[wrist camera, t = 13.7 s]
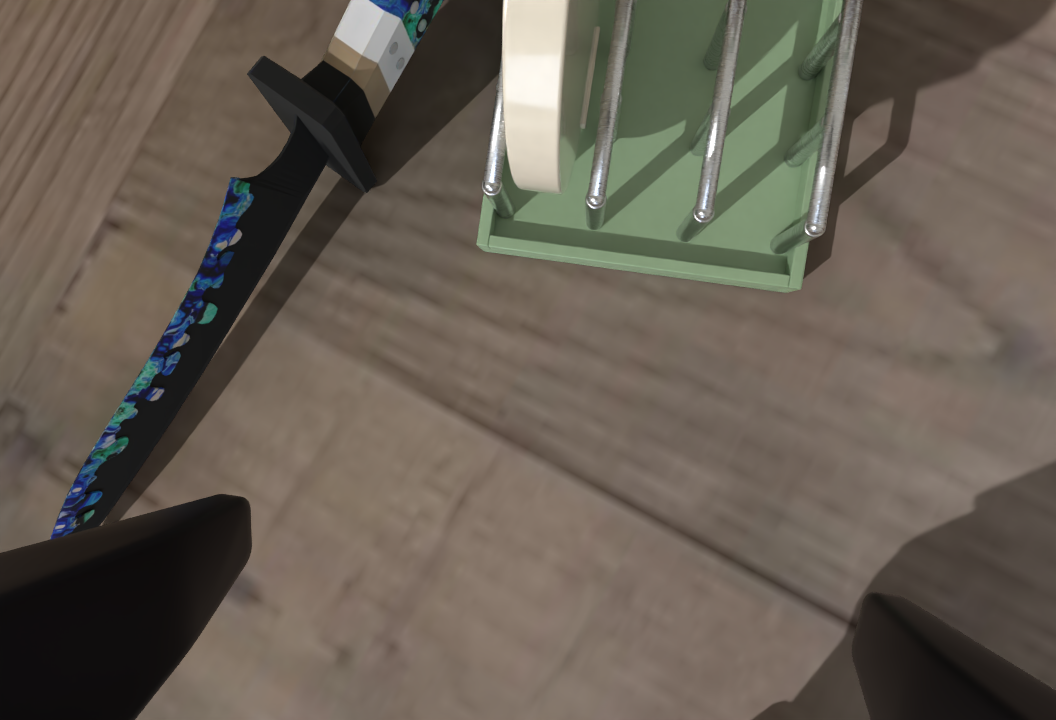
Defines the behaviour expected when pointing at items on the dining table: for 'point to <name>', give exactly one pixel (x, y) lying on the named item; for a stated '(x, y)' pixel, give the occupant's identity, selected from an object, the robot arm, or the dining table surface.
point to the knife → (255, 230)
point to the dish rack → (693, 144)
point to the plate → (546, 87)
